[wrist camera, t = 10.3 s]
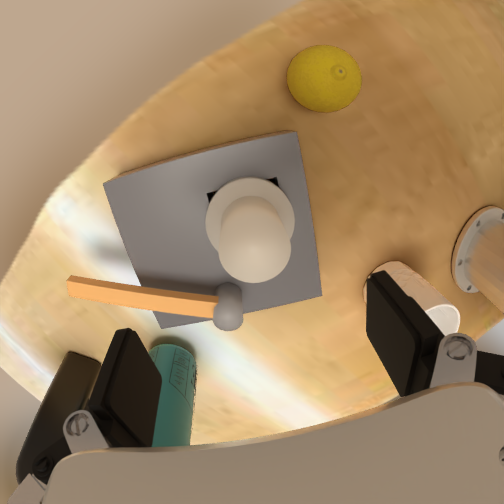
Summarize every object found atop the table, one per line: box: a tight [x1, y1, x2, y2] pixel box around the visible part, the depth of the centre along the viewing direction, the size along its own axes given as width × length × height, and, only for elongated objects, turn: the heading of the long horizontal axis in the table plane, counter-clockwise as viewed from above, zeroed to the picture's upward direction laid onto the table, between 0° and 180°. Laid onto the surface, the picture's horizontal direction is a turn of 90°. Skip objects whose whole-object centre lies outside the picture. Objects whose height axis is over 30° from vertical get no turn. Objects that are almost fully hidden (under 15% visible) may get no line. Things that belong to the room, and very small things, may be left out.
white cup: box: [363, 261, 460, 336], centre depth 28 cm, size 8×8×10 cm
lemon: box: [287, 45, 362, 113], centre depth 19 cm, size 6×6×8 cm
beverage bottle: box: [148, 344, 198, 447], centre depth 26 cm, size 6×7×20 cm
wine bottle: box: [16, 352, 101, 485], centre depth 22 cm, size 6×6×30 cm
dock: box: [103, 130, 322, 329], centre depth 27 cm, size 16×15×4 cm
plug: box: [205, 176, 295, 283], centre depth 23 cm, size 7×7×10 cm
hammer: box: [67, 275, 243, 331], centre depth 24 cm, size 16×2×4 cm, turn 81°
